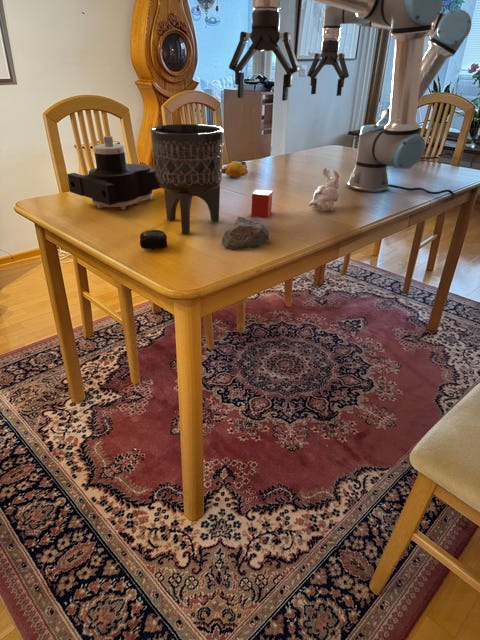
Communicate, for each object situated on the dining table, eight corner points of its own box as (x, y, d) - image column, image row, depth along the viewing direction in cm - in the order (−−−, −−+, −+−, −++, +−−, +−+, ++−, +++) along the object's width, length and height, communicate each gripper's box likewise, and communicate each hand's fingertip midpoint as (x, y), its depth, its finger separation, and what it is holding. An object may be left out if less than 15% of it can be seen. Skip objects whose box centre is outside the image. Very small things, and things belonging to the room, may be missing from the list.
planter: (143, 226, 132) (134, 128, 119) (187, 210, 146) (183, 122, 133) (195, 240, 123) (191, 136, 109) (236, 222, 137) (238, 128, 123)
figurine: (343, 205, 155) (348, 167, 148) (324, 216, 144) (329, 175, 137) (322, 201, 158) (326, 164, 152) (302, 211, 148) (305, 171, 141)
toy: (216, 169, 183) (223, 161, 196) (222, 185, 186) (228, 175, 199) (242, 161, 180) (247, 153, 193) (247, 176, 183) (252, 167, 196)
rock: (255, 233, 128) (256, 211, 124) (276, 242, 122) (278, 219, 119) (217, 244, 120) (217, 220, 117) (239, 254, 115) (239, 230, 111)
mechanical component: (60, 135, 140) (138, 127, 160) (72, 203, 151) (143, 187, 171) (101, 144, 128) (180, 134, 148) (111, 217, 139) (183, 198, 159)
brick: (255, 211, 148) (256, 189, 144) (271, 212, 147) (272, 190, 143) (251, 216, 143) (252, 193, 139) (267, 218, 142) (268, 195, 138)
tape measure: (140, 252, 115) (139, 238, 113) (141, 242, 120) (140, 229, 119) (167, 251, 116) (166, 237, 114) (167, 241, 121) (166, 228, 120)
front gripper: (217, 9, 121) (217, 97, 132) (308, 8, 114) (300, 102, 124) (228, 12, 127) (227, 95, 138) (315, 11, 120) (307, 100, 130)
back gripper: (302, 40, 201) (298, 93, 212) (351, 39, 187) (345, 96, 197) (311, 41, 206) (307, 93, 216) (360, 40, 192) (354, 95, 202)
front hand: (262, 99), depth 131 cm, fingers open, 13 cm apart
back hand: (325, 94), depth 207 cm, fingers open, 13 cm apart
